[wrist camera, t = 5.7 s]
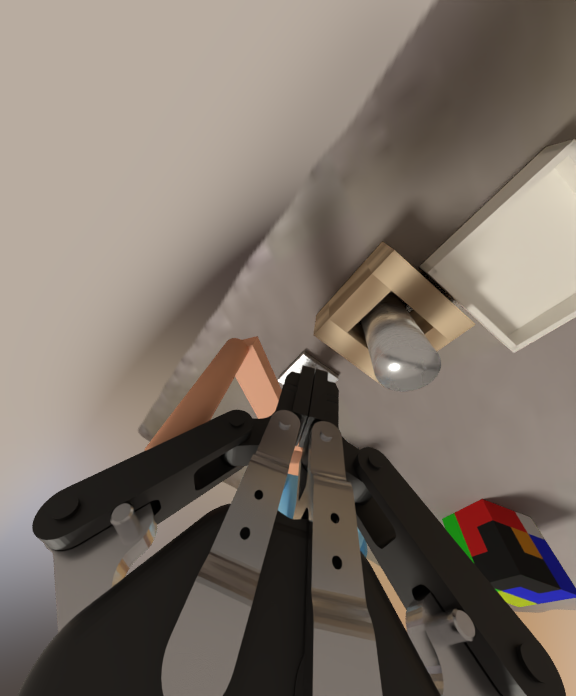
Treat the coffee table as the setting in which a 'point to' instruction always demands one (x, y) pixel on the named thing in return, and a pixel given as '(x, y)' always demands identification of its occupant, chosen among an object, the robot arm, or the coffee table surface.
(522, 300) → the tray
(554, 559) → the puzzle toy
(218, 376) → the bar
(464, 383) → the coffee table surface
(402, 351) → the silver metal cylinder
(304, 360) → the pivot post
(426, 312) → the block
